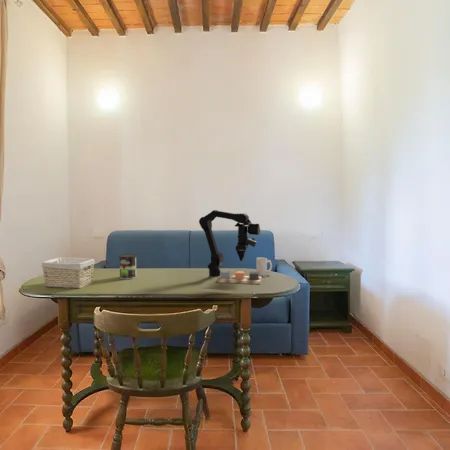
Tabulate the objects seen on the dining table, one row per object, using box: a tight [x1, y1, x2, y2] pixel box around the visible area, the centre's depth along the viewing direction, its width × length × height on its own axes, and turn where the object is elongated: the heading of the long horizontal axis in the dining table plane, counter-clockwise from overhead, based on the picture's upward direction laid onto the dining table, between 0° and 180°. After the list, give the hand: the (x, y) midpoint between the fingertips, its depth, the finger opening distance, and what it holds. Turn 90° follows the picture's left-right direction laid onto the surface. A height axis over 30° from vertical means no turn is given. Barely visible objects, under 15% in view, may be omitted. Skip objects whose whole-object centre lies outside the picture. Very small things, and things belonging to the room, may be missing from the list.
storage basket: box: [41, 257, 96, 289], centre depth 187 cm, size 24×16×15 cm
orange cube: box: [234, 270, 245, 279], centre depth 192 cm, size 5×5×5 cm
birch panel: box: [216, 274, 263, 285], centre depth 192 cm, size 25×12×3 cm, turn 80°
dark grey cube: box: [249, 271, 259, 280], centre depth 190 cm, size 5×5×5 cm
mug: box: [255, 256, 273, 277], centre depth 207 cm, size 10×7×12 cm, turn 91°
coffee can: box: [118, 253, 137, 280], centre depth 205 cm, size 10×10×14 cm
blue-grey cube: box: [221, 270, 231, 279], centre depth 193 cm, size 5×5×5 cm
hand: (242, 259), depth 198 cm, fingers open, 9 cm apart
